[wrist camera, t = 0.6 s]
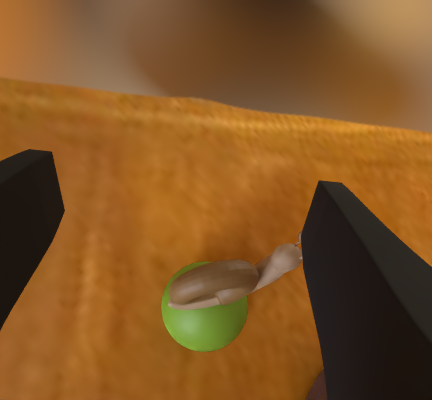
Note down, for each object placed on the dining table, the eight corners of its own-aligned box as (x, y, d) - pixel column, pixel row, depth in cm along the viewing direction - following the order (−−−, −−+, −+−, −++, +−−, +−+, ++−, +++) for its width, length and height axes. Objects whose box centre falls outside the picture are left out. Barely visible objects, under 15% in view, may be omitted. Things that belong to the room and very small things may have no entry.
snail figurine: (261, 337, 25) (342, 302, 14) (170, 365, 23) (187, 350, 12) (237, 263, 27) (292, 186, 16) (152, 284, 25) (154, 213, 15)
